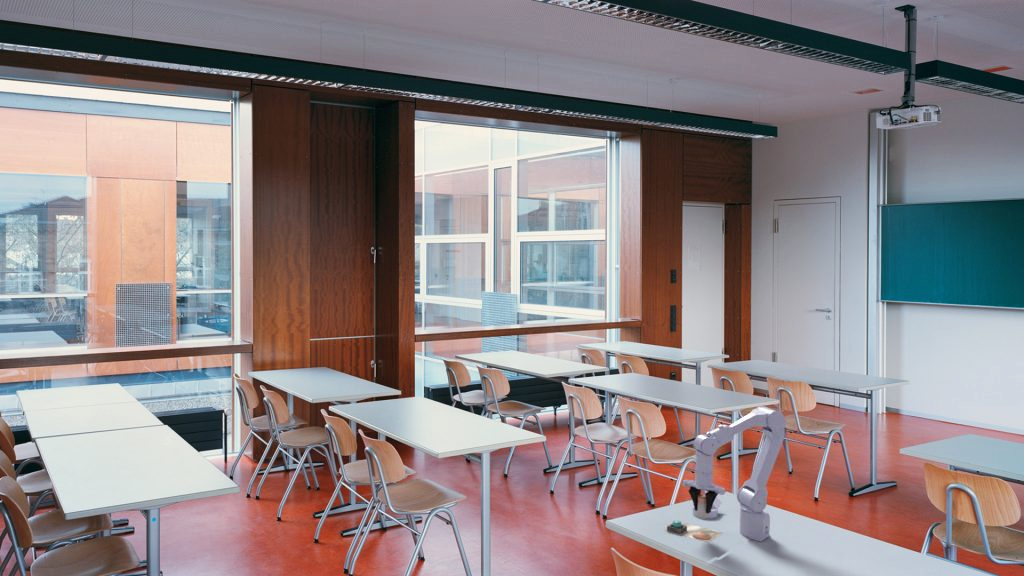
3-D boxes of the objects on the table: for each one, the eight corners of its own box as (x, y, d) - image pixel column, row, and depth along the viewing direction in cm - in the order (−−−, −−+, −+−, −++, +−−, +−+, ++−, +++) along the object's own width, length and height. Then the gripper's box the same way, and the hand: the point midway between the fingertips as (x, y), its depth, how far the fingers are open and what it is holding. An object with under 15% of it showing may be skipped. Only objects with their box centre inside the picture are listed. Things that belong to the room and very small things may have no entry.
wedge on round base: (697, 507, 301) (689, 517, 290) (698, 490, 301) (690, 499, 289) (721, 511, 298) (714, 521, 286) (722, 493, 297) (715, 503, 285)
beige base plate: (727, 534, 273) (727, 528, 272) (709, 546, 262) (710, 539, 262) (679, 522, 284) (679, 516, 284) (660, 532, 273) (661, 526, 273)
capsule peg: (709, 516, 268) (710, 496, 268) (705, 519, 265) (706, 498, 265) (699, 514, 270) (700, 494, 270) (695, 517, 268) (696, 496, 267)
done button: (683, 527, 274) (683, 521, 274) (678, 529, 271) (679, 524, 271) (675, 525, 276) (675, 519, 276) (671, 527, 273) (671, 522, 273)
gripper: (678, 469, 269) (677, 509, 269) (719, 478, 260) (717, 519, 260) (688, 465, 274) (687, 504, 275) (728, 473, 265) (726, 513, 266)
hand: (702, 511), depth 268 cm, fingers closed on capsule peg, 4 cm apart
